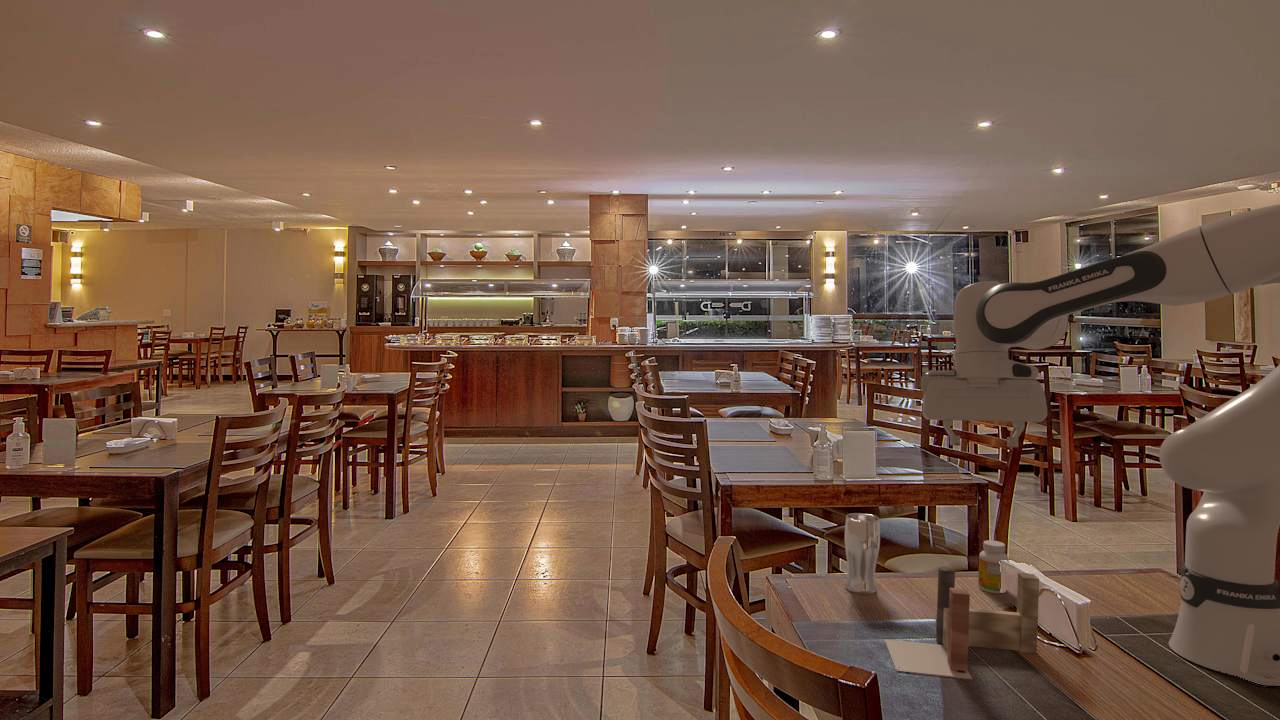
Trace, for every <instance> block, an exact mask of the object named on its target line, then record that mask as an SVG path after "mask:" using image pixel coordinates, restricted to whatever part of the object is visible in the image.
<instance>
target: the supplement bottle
mask: <svg viewBox="0 0 1280 720" xmlns="http://www.w3.org/2000/svg"><path fill="white" fill-rule="evenodd" d="M1005 552H1006V544H1005V543H1004V542H1001V541H998V540H992V539H991V540H988V539H987V540H984V541H983V550H982V551H981V552H979V556H978V581H977V582H978V583H977V584H978V588H979V589H980V590H982V591H983V592H986V593H990V594H1000V589H1001V572H1000V564H999V561H1000V560H1007V561H1008V562H1009V556H1008V555H1007V554H1006V553H1005ZM1000 563H1001V561H1000Z"/></svg>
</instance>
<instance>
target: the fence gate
mask: <svg viewBox="0 0 1280 720" xmlns="http://www.w3.org/2000/svg"><path fill="white" fill-rule="evenodd" d="M970 595H971V594H970V593H969V592H968V589H966V588H959V587H955V588H950V593H949V608H944V615H943V644H944V647H945V649H946V651H947V653H948V659H947V662H948V664H949V666H950V669H955V670H964V671H967V670H968V663H969V662H968V661H969V646H968V634H969V608H970Z"/></svg>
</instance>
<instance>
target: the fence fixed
mask: <svg viewBox="0 0 1280 720" xmlns="http://www.w3.org/2000/svg"><path fill="white" fill-rule="evenodd" d="M937 572H938V573H937V602H936V605H937V606H936V632H935V633H936V634H935V635H936V636H935V637H936V638H935V639H936V640H935V641H936V643H937V644H939V645H944V644H943V615H944V608H949V593H950V588H956V587H955V586H956V585H955V584H956V569H954V568H951V567H945V566H940V567H938V569H937ZM1039 593H1040V578H1039V577H1038V576H1037V575H1036V574H1035V573H1028V572H1027V573H1024V572H1017V595H1016V596H1017V597H1016V599H1017V600H1016V612H1014V611H1004V610H993V609H992V610H991V609H979V608H970V607H969V634H968V647H977V648H988V649H997V650H1005V651H1007V650H1008V651H1017V652H1020V653H1021V654H1023V653H1024V654H1031V655H1036V654H1038V653H1037V652H1038V650H1037V649H1038V625H1039V598H1040V597H1039V596H1040V594H1039Z"/></svg>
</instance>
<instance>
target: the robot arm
mask: <svg viewBox="0 0 1280 720" xmlns="http://www.w3.org/2000/svg"><path fill="white" fill-rule="evenodd" d="M1270 284H1280V204H1274V205H1270V206H1264V207H1259V208H1255V209H1250V210H1247V211H1242V212H1239V213H1236V214H1232V215H1229V216H1226V217H1222V218H1218V219H1215V220H1213V221H1209V222H1207V223H1204V224H1202V225H1199V226H1196V227H1193V228H1190V229H1188V230H1185V231H1183V232H1180V233H1178V234H1175V235H1173V236H1170V237H1167V238H1165V239H1162V240H1160V241H1157V242H1155V243H1153V244H1150V245H1148V246H1145V247H1141V248H1139V249H1136V250H1133V251H1131V252H1128V253H1126V254H1122V255H1121V256H1118V257H1114V258H1110V259H1108V260H1104V261H1101V262H1097V263H1095V264H1091V265H1088V266H1084V267H1082V268H1081V267H1080V268H1079V269H1075V270H1072V271H1069V272H1066V273H1063V274H1059V275H1057V276H1053V277H1049V278H1047V279H1043V280H1039V281H1034V282H1004V283H1001V282H999V281H997V280H983V281H982V280H981V281H977V282H973V283H970V284H968V285H965V286H964V287H963V288H961V289H960V290H959V291H958V292H957V295H956V297H955V300H954V308H953V334H954V337H955V341H956V345H955V349H954V352H953V353H954V355H953V358H954V362H953V363H954V370H953V369H952V370H949V369H948V370H934V369H933V370H932V369H931V370H929V371H928V372H926V373H924V374H922V376H921V377H920V381H919V382H920V390H921V393H923V397H922V409H921V410H922V411H921V413H922V417H924V419H925V420H927V421H942V427H943V429H944V431H946V434H948V436H949V445H950V446H961V441H960V440H961V436H960V435H956V433H955V432H954V431H953V430H952V427H954V421H968V422H969V421H970V422H971V421H972V422H973V421H974V422H977V421H978V422H1012V427H1013V429H1015V431H1014V432H1013V434H1012V436H1007V437H1006V446H1007V448H1018V447H1019V437H1020V436H1021V434H1022V433H1023V431H1024V430H1025V427H1026V426H1025V425H1026V423H1027V422H1029V423H1039V422H1044V420H1046V418H1047V417H1048V405H1047V398H1046V393H1045V390H1044V387H1043V385H1042V383H1040V382H1039V381H1038V380H1036V379H1037V378H1038V377H1039V369H1038V367H1036V366H1034V365H1031V364H1026V363H1024V362H1023V363H1022V362H1019V361H1015V360H1013V359H1009V350H1010V348H1016V347H1017V348H1023V349H1028V350H1033V351H1034V350H1041V349H1048V348H1051V347H1053V346H1055V345H1056V344H1058V343H1059V342H1060V341H1061V340H1062V339H1063V338H1064V336H1065V335H1066V333H1067V330H1068V329H1069V316H1070V315H1072V314H1076V313H1079V312H1082V311H1086V310H1089V309H1093V308H1097V307H1100V306H1104V305H1107V304H1113V303H1120V302H1143V303H1151V304H1157V305H1165V306H1169V307H1170V306H1172V307H1174V306H1175V307H1178V306H1186V305H1193V304H1199V303H1204V302H1210V301H1213V300H1217V299H1221V298H1223V297H1228V296H1230V295H1233V294H1237V293H1240V292H1243V291H1247V290H1250V289H1253V288H1255V287H1258V286H1265V285H1270ZM1068 315H1069V316H1068ZM1159 448H1160V449H1159V453H1158V454H1159V455H1158V457H1159V462H1160V466H1161V468H1162V470H1163V472H1164V473H1165V474H1166V476H1167V477H1168V478H1169V479H1170V480H1172V482H1174V483H1176V484H1177V485H1178V486H1180V487H1183V488H1186V489H1190V490H1193V491H1194V490H1195V491H1200V492H1203V494H1202V495H1201V498H1200V500H1199V502H1198V504H1197V506H1196V507H1195V508H1194V510H1193V511H1192V512H1191V513H1190V514H1189V516H1188V518H1187V520H1186V527H1185V528H1186V530H1185V548H1184V549H1185V551H1184V563H1182V564H1181V570H1180V580H1179V581H1180V583H1179V593H1180V595H1179V596H1180V598H1181V601H1180V606H1179V612H1178V616H1177V619H1176V623H1175V627H1174V630H1173V632H1172V635H1171V637H1170V638H1169V641H1168V646H1169V647H1170V649H1171V650H1173V652H1174V653H1176V654H1177V655H1179V656H1181V657H1182V658H1184V659H1186V660H1188V661H1190V662H1191V663H1194V664H1197V665H1199V666H1201V667H1204V668H1208V669H1210V670H1214V671H1216V672H1219V671H1220V673H1223V674H1226V673H1227V675H1229V676H1233V675H1234V677H1236V676H1238V677H1237V678H1239V677H1240V678H1239V679H1241V678H1243V679H1242V680H1244V679H1245V680H1244V681H1246V680H1248V681H1247V682H1249V681H1251V682H1254V683H1257V684H1261V685H1276V686H1280V582H1279V581H1278V580H1277V579H1275V574H1276V573H1275V572H1276V560H1277V559H1276V558H1277V557H1276V556H1277V540H1278V534H1279V530H1280V364H1278V365H1277V366H1276V367H1275V368H1273V369H1272V370H1271V371H1270V372H1268V374H1266V375H1265V376H1264V377H1263V378H1262V379H1260V380H1259V381H1258V382H1256V383H1254V384H1253V385H1251V386H1250V387H1249V388H1248V389H1246V390H1244V391H1242V392H1241V393H1239V394H1238V395H1235V396H1234V397H1233V398H1231V399H1229V400H1227V401H1225V402H1224V403H1223V404H1221V405H1219V406H1217V407H1216V408H1214V409H1213V410H1212V411H1210V412H1208V413H1207V414H1205V415H1203V416H1202V417H1201V418H1199V419H1197V420H1196V421H1193V423H1191V424H1189V425H1187V426H1185V427H1183V428H1180V429H1178V430H1176V431H1175V432H1172V433H1171V434H1169V435H1168V436H1167V437H1166V438H1165V439H1164V440H1163V442H1162V444H1161V445H1160V447H1159ZM1251 682H1250V683H1251ZM1254 683H1253V684H1254ZM1257 684H1256V685H1257Z"/></svg>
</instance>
